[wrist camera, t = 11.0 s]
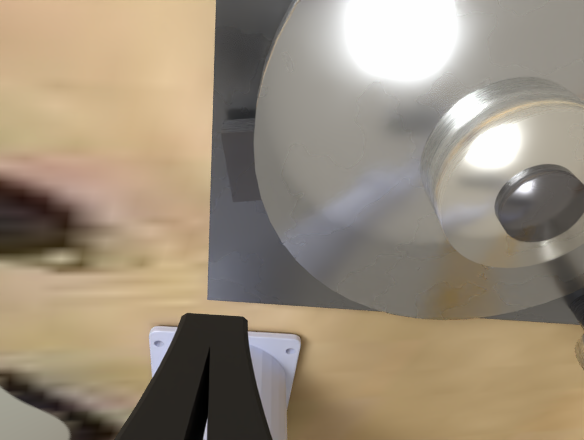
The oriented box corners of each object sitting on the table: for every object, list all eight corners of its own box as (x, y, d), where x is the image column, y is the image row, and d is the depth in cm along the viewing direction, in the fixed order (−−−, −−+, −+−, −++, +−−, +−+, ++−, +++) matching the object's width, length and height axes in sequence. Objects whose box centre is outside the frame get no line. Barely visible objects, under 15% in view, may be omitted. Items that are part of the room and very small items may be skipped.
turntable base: (586, 311, 25) (673, 433, 20) (209, 284, 23) (189, 412, 18) (937, -171, 13) (1396, -199, 8) (229, -308, 11) (186, -474, 6)
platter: (256, 310, 22) (252, 406, 18) (180, -133, 12) (134, -135, 8) (637, 283, 22) (717, 375, 18) (882, -197, 12) (1189, -231, 8)
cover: (415, 227, 18) (438, 287, 15) (426, 86, 15) (458, 132, 12) (563, 214, 18) (612, 272, 15) (609, 67, 14) (681, 109, 12)
